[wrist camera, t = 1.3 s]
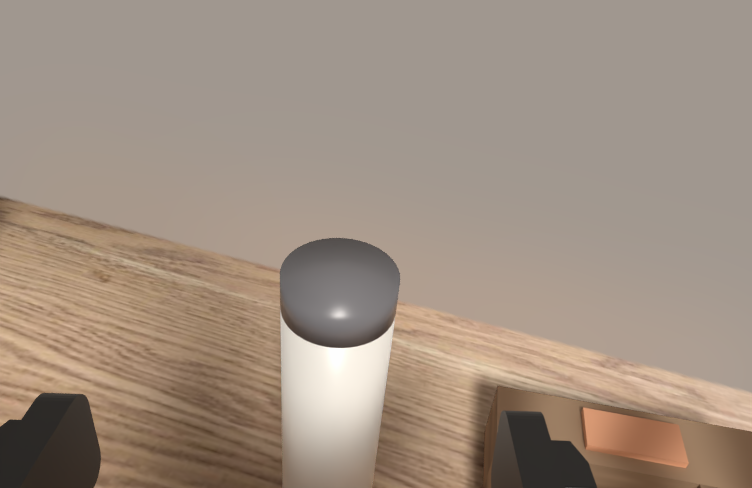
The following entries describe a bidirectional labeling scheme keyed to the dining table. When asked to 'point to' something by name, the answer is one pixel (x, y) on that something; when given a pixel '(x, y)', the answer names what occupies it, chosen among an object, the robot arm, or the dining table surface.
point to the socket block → (633, 443)
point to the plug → (334, 360)
